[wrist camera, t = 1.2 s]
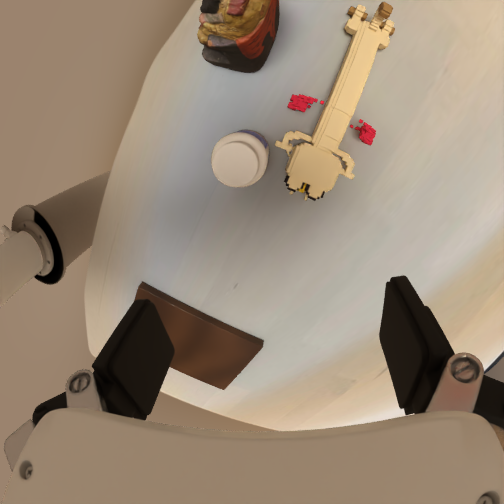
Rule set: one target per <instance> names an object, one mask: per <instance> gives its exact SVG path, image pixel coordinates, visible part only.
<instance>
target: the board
mask: <svg viewBox="0 0 504 504" xmlns="http://www.w3.org/2000/svg"><path fill="white" fill-rule="evenodd" d="M137 299H149V300H150V301H151V302H153V303H154V304H155V306H156V309H157V311H158V313H159V316H160V318H161V320H162V322H163V324H164V327H165V329H166V331H167V333H168V335H169V337H170V340H171V342H172V344H173V346H174V349H175V354H174V357H173V359H172V361H171V364H170V366H169V367H171V368H173V369H175V370H178V371H180V372H182V373H184V374H186V375H189V376H191V377H193V378H195V379H198V380H200V381H203V382H205V383H207V384H210V385H212V386H215V387H217V388H220V389H222V390H224V389H225V388H226V387H227V386H228V385H229V384H230V383H231V382H232V381H233V380H234V379H235V378H236V377H237V375H238V374H239V373H240V372H241V371H242V370H243V369H244V368H245V367H246V366H247V364H248V363H249V362H250V361H251V360H252V359H253V358H254V357H255V355H256V354H257V353H258V352H259V351H260V350H261V349H262V347H263V342H264V341H263V340H261V339H259V338H256V337H254V336H252V335H249V334H247V333H245V332H243V331H240V330H238V329H236V328H234V327H232V326H229V325H227V324H225V323H223V322H221V321H219V320H217V319H214V318H212V317H210V316H208V315H206V314H204V313H202V312H200V311H198V310H196V309H194V308H192V307H190V306H188V305H186V304H184V303H182V302H180V301H178V300H176V299H174V298H172V297H170V296H168V295H166V294H165V293H163V292H161V291H159V290H157V289H155V288H153V287H151V286H150V285H148V284H146V283H144V282H142V283H141V284H140V285H139V287H138V290H137V294H136V297H135V300H137ZM135 300H134V301H135Z"/></svg>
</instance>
